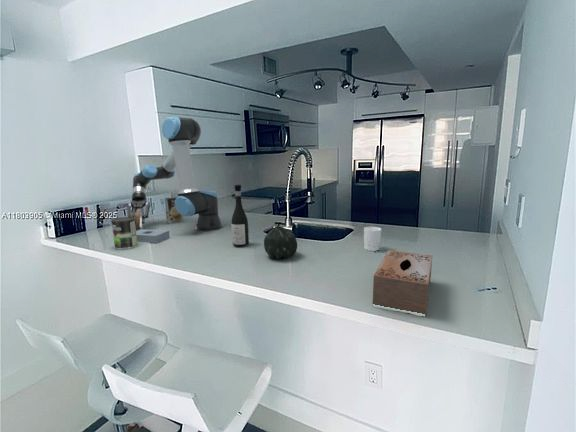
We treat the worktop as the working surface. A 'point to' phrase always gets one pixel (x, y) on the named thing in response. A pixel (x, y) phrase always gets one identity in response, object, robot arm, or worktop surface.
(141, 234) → the socket board
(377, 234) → the white cup
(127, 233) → the coffee can
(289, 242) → the squash
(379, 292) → the tissue box cover
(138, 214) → the dowel
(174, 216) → the coffee box
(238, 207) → the wine bottle
